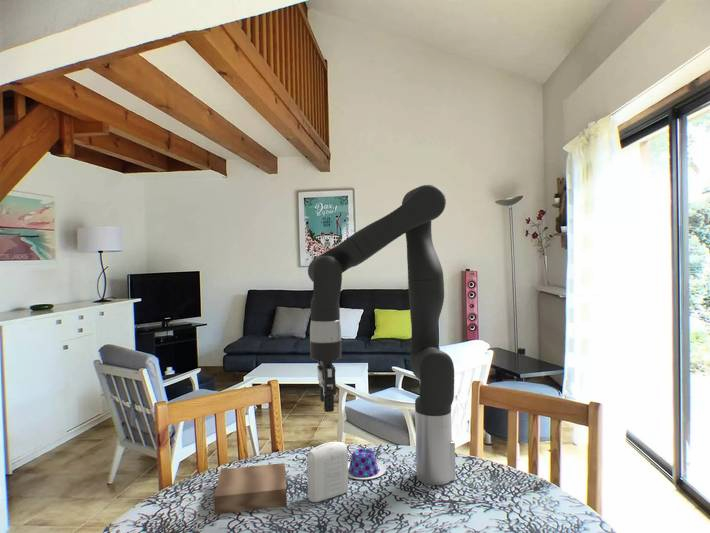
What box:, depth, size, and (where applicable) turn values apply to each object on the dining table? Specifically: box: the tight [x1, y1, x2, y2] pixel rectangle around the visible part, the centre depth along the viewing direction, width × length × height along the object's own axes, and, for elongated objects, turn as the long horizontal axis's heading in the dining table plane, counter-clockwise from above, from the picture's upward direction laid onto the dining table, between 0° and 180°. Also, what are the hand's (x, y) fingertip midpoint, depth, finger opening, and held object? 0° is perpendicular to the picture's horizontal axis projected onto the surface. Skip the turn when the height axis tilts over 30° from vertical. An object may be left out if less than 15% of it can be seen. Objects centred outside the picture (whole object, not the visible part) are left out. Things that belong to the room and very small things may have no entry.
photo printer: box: [306, 441, 349, 503], centre depth 107 cm, size 10×4×12 cm, turn 123°
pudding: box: [348, 448, 387, 480], centre depth 120 cm, size 12×12×5 cm
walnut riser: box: [213, 462, 288, 515], centre depth 108 cm, size 16×14×4 cm
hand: (326, 406), depth 108 cm, fingers open, 8 cm apart
